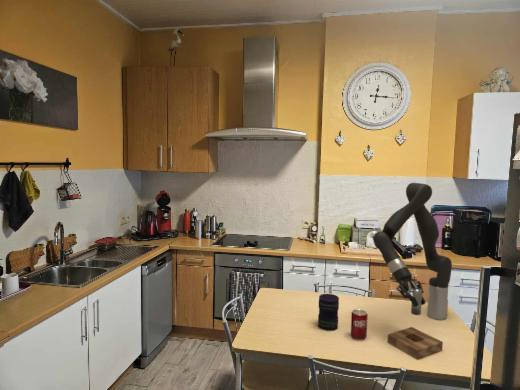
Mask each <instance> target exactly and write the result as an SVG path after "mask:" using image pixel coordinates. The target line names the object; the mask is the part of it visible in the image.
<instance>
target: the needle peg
mask: <svg viewBox="0 0 520 390" xmlns="http://www.w3.org/2000/svg"><path fill="white" fill-rule="evenodd" d="M422 289H423V288H422ZM422 289H420V288H412V293H413V296H414V297H415V299H416V300H417V302H418V304H419V305H418V306H416V307H414V305H413V304H412V303H411V306H410V307H411V308H410V313H411V314H412V315H415V316H421V315H422V305H421V303H422V297H423V293H422Z"/></svg>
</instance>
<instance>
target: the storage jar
mask: <svg viewBox="0 0 520 390" xmlns="http://www.w3.org/2000/svg"><path fill="white" fill-rule="evenodd" d="M339 299H340V298H339V296H338V295H336V294H332V293H321V294H319V295H318V315H317V321H318V322H317V323H318V325H317V327H318V328H319V329H320V330H322V331H326V332H333V331H336V330H338V328H339V309H340V306H339V305H340V301H339Z"/></svg>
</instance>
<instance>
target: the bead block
mask: <svg viewBox="0 0 520 390" xmlns="http://www.w3.org/2000/svg"><path fill="white" fill-rule="evenodd" d="M386 343H387V344H389V345H391V346H392V347H394V348H397V349H398V350H400V351H401V352H404V353H405V354H407V355H408V356H411V357H412V358H414V359H416V360H417V361H418V360H420V359H423V358H426V357H429V356H431V355H435V354H437V353H440V352H442V351H443V346H444V345H443V340H442V341H441V340H439V338H436V337H434V336H431V335H430V334H427V333H425V332H424V331H421V330H419V329H417V328H415V327H413V326H410V327H407V328H403V329H400V330H397V331H394V332H390V333H387V341H386Z"/></svg>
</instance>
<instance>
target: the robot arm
mask: <svg viewBox="0 0 520 390" xmlns="http://www.w3.org/2000/svg"><path fill="white" fill-rule="evenodd" d="M405 194H406V199H407V201H408V203H407V204H405V205H404V206H402V207H401V208H400V209H397V210H396V211H395V212H394V213H392V215H391V216H390V217H389V218H388V219H387V221H386V222H385V224H384V225H383V229H382V230H381V231H377V232H375V233H374V235H373V238H372V241H373V244H374V247H375V248H376V249H378V250H379V252H380V253H381V256H382V259H383V260H384V262H385V264H386V265H387V268H388V270H389V272H390V273H391V276H392V277H393V278H394V280H395V282H396V283H397V284H398V286H397V287H396V290H397V291H398V292H399V294H400V295H401V296H402V297H403V298H404V299H405V300H406V299H408V300H409V301H410V302H411V304H413V305H414V307H416V306H418V305H419V304H418V302H417V300H416V299H415V297H414V296H413V293H412V288H420V289H422V294H424V290H423V286H422V284H421V281H420V280H418V281H415V279H413V274H412V273H411V271H410V269H409V268H408V266H407V264H406V263H405V261H404V260H403V259H402V257H401V256H400V255H399V253H398V251H397V250H396V248H395V247H394V244H393V242H392V241H393V240H394V238H395V236H396V235H397V233H398V232H399V231H400V230H401V228H402V227H403V226H404V225H405V223H406V222H407V221H408V220H409V219H410V218H411V217H412V216H414V219H415V222H416V225H417V229H418V233H419V237H420V239H421V243H422V247H423V251H424V257H425V261H426V262H425V263H426V266H427V267H428V269H429V270H430V271H432V272H435V273H437V274H436V277H435V276H433V277H430V278H429V281H428V292H427V295H428V297H427V307H426V308H427V311H426V314H427V317H428V318H431V319H433V320H439V321H440V320H441V321H444V320H447V317H448V307H449V299H448V295H449V294H448V293H449V284H450V282H451V277H452V276H451V275H452V266H453V264H452V260H451V258H449V257H447V256H444V255H440V254H439V253H438V252H437V247H436V243H437V241H438V240H439V236H440V230H439V227H438V224H437V221H436V219H435V217H434V216H433V215H432V213H430V211H429V209H427V207H426V205H425V204H427V202H429V200H430V199H431V198H432V195H433V189H432V187H431V185H429V184H425V183H419V182H411V183H409V184H407V186H406V189H405ZM423 305H426V300H425V298H424V297H423V296H422V303H421V306H423Z"/></svg>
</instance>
